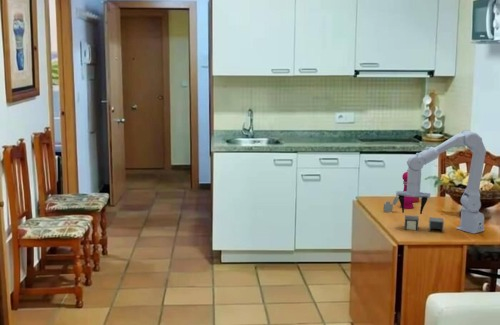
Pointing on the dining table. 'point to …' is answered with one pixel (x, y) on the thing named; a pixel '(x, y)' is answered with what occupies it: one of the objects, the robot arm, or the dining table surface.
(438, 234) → the dining table surface
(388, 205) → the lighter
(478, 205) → the robot arm
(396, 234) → the dining table surface
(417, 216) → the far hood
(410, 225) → the cube
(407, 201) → the pepper mill
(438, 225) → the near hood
